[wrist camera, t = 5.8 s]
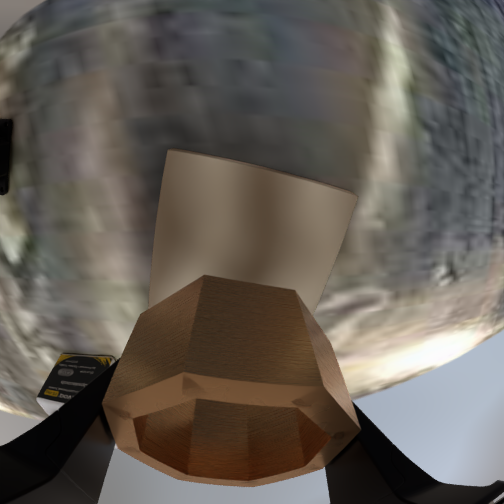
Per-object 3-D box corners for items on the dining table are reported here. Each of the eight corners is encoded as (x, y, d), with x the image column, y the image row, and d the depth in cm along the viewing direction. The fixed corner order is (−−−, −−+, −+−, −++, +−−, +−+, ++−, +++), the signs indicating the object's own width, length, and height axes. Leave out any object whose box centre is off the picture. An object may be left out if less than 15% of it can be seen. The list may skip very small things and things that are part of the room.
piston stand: (150, 347, 23) (146, 359, 22) (173, 148, 17) (167, 149, 15) (279, 370, 25) (281, 381, 24) (349, 191, 18) (358, 196, 17)
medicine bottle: (113, 354, 24) (72, 458, 13) (138, 399, 27) (115, 490, 16) (61, 352, 24) (15, 436, 13) (88, 394, 27) (58, 473, 16)
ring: (144, 395, 11) (126, 467, 8) (141, 262, 8) (87, 348, 5) (291, 414, 12) (302, 485, 8) (351, 298, 9) (398, 384, 6)
